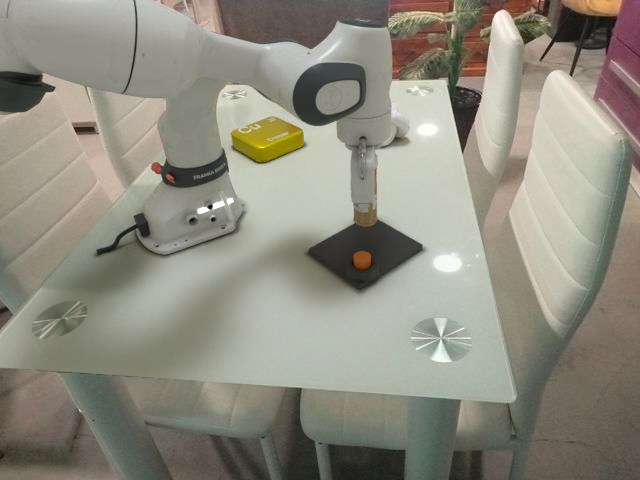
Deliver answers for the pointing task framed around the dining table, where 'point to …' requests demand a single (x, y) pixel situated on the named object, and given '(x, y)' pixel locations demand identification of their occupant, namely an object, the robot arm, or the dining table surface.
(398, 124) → the white knot sculpture
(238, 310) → the dining table surface
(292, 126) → the element tile
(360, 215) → the sprinkles bottle
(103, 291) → the dining table surface
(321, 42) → the robot arm
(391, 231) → the scale
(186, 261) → the dining table surface
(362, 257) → the button
